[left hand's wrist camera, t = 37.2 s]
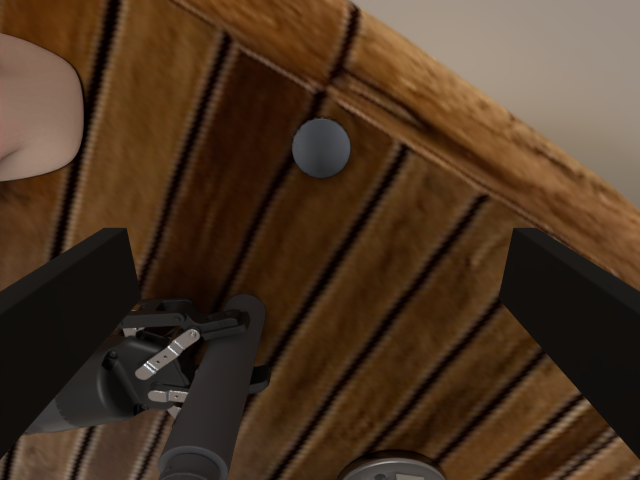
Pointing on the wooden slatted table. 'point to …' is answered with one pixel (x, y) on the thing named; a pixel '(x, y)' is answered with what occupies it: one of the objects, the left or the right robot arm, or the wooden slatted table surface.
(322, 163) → the lid
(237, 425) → the bottle
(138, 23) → the wooden slatted table surface
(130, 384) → the right robot arm
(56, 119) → the anatomical model
